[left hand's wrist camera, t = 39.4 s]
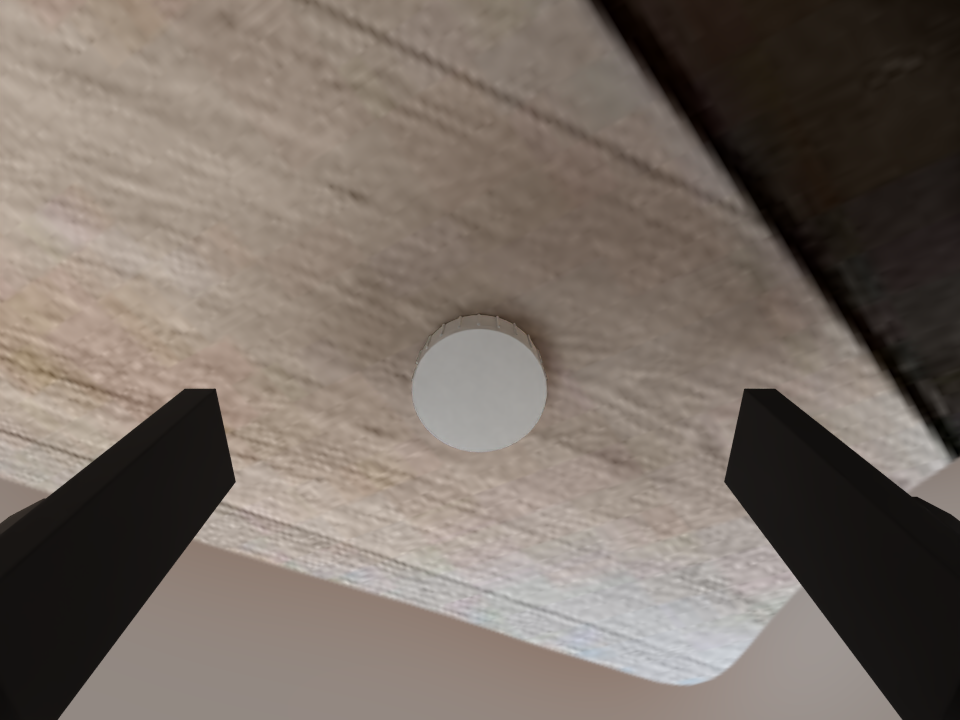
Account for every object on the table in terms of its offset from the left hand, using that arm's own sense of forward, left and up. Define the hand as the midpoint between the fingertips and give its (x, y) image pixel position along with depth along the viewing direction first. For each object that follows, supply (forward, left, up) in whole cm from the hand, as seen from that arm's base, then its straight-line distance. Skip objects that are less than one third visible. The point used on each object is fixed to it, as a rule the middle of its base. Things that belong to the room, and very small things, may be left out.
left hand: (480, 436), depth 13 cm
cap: (0, -1, -4) cm, 4 cm away
